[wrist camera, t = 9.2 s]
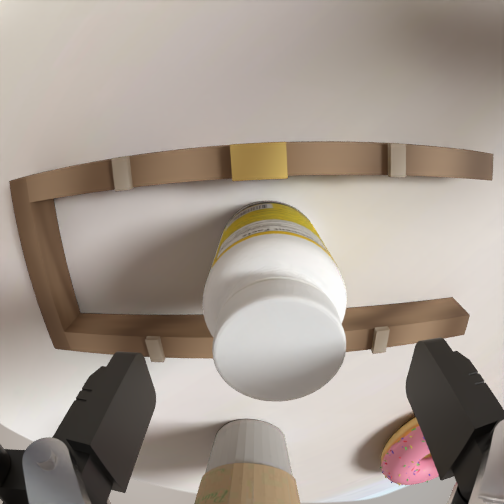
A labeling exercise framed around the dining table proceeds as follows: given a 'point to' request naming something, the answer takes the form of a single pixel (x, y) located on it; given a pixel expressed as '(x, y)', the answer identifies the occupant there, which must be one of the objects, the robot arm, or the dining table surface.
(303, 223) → the supplement bottle
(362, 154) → the wooden u-shaped frame
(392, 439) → the doughnut
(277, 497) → the coffee cup
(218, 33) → the dining table surface
